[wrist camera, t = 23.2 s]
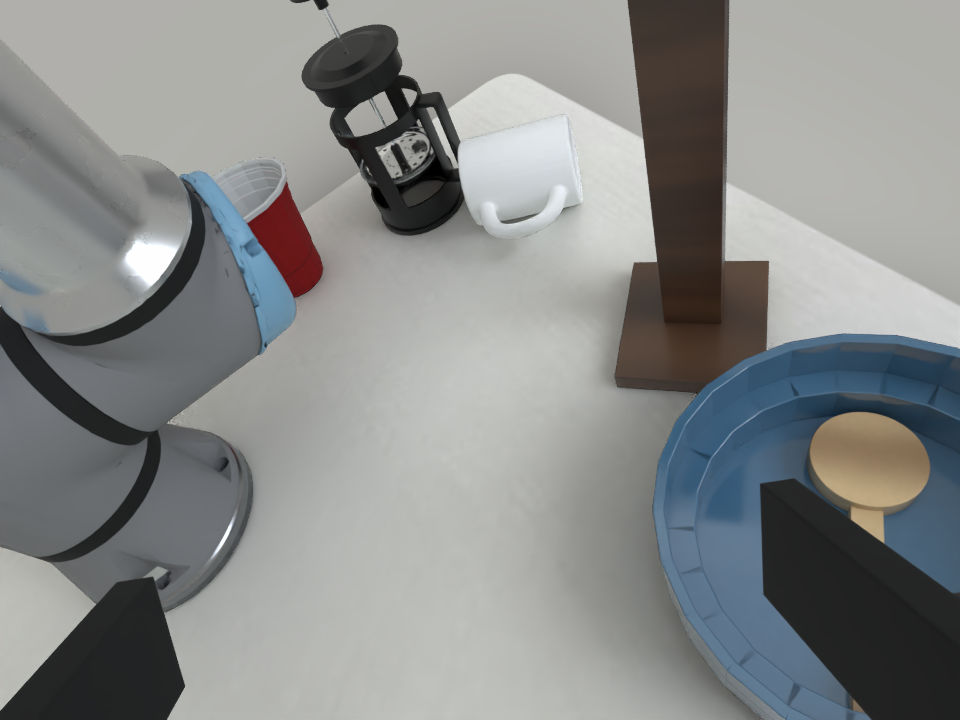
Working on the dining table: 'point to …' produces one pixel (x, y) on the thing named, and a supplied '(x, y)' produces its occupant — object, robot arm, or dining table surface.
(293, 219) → the plastic cup
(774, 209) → the dining table surface
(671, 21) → the stand
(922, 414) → the bowl
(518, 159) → the mug
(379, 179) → the french press
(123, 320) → the robot arm
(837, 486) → the spoon
